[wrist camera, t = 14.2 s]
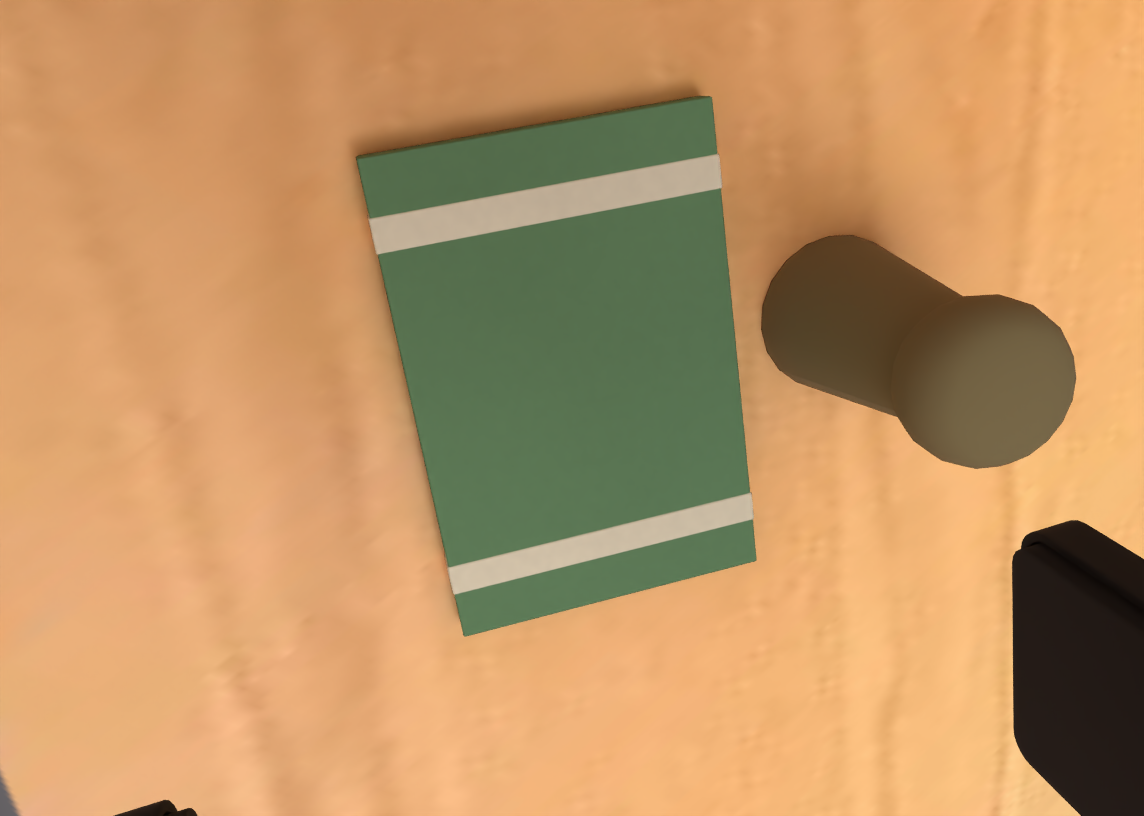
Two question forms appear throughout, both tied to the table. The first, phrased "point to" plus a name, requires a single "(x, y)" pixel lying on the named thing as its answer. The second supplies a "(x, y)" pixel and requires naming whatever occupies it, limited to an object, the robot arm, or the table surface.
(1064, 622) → the robot arm
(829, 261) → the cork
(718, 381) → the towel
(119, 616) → the table surface
